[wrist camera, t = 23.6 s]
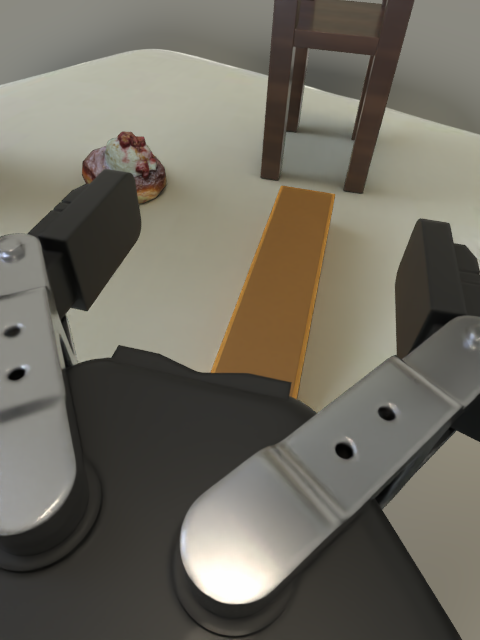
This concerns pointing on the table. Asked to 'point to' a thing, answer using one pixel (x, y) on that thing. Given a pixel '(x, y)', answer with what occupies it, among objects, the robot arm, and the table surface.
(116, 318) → the table surface
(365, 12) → the stand
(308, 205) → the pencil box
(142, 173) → the pastry
